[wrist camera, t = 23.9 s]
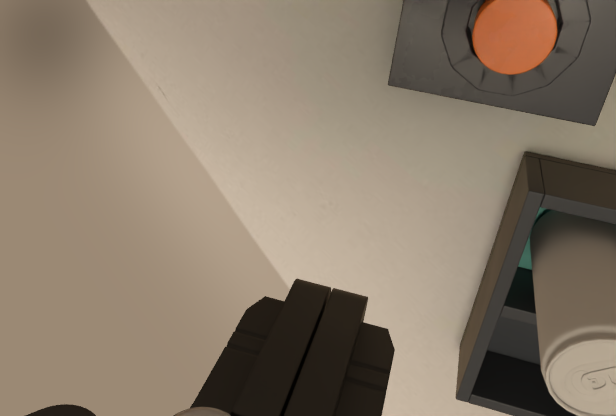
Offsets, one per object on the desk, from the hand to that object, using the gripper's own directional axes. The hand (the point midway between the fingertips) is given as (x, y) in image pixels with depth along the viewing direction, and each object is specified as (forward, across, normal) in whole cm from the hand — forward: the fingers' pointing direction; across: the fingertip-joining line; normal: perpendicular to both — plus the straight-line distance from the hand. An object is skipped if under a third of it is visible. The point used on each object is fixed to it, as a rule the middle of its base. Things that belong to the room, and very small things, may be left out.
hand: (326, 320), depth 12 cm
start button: (+21, -4, -2) cm, 21 cm away
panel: (+24, -4, -2) cm, 25 cm away
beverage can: (+23, -11, +9) cm, 27 cm away
